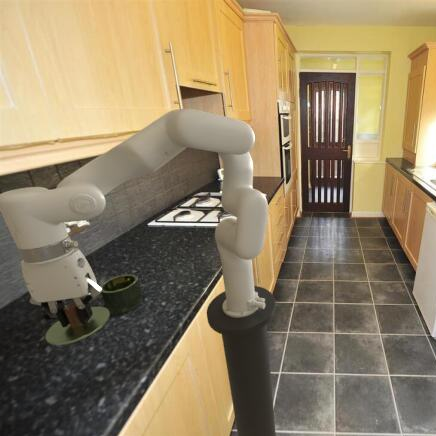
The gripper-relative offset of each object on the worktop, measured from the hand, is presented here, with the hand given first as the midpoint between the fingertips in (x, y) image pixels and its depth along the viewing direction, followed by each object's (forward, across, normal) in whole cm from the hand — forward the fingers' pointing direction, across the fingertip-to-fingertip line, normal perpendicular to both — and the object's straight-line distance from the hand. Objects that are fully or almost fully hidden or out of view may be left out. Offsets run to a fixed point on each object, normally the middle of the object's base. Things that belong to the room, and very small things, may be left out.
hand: (78, 320), depth 60 cm
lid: (+1, 0, 0) cm, 1 cm away
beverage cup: (+17, +24, -28) cm, 41 cm away
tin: (+17, +5, -29) cm, 34 cm away
